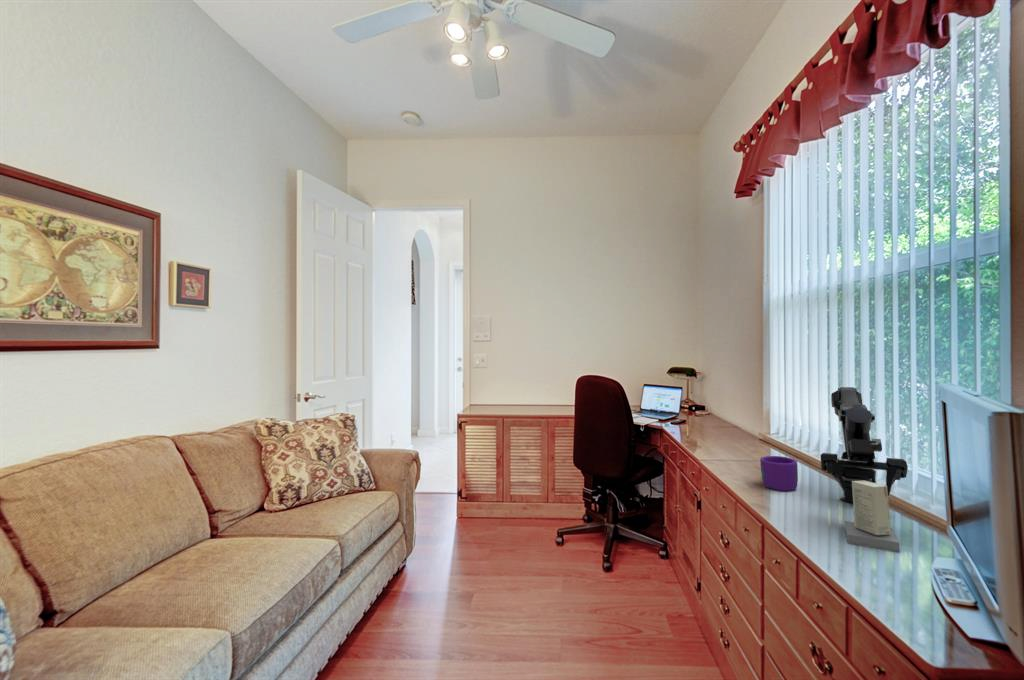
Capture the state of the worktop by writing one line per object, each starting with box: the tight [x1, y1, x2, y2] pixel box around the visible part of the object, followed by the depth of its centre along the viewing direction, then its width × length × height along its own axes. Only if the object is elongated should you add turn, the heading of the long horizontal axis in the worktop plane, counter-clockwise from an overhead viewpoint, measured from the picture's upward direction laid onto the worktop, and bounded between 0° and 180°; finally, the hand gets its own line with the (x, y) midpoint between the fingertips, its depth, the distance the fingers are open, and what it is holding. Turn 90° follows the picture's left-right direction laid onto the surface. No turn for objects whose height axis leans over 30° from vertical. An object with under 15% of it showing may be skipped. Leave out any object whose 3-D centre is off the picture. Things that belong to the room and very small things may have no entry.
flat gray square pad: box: [844, 520, 901, 553], centre depth 112 cm, size 10×10×3 cm
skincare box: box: [852, 480, 891, 535], centre depth 112 cm, size 6×4×12 cm
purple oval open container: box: [760, 455, 799, 492], centre depth 157 cm, size 17×11×10 cm, turn 152°
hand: (865, 492), depth 115 cm, fingers open, 9 cm apart
